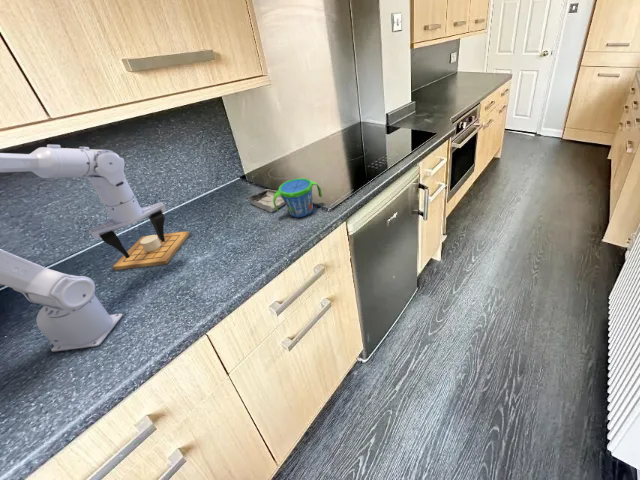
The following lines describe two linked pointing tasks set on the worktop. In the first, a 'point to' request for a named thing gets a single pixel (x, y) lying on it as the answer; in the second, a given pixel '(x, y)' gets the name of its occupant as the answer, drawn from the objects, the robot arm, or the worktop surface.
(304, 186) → the snack cup
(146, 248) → the cream cylinder puck
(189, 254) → the worktop surface
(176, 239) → the board
